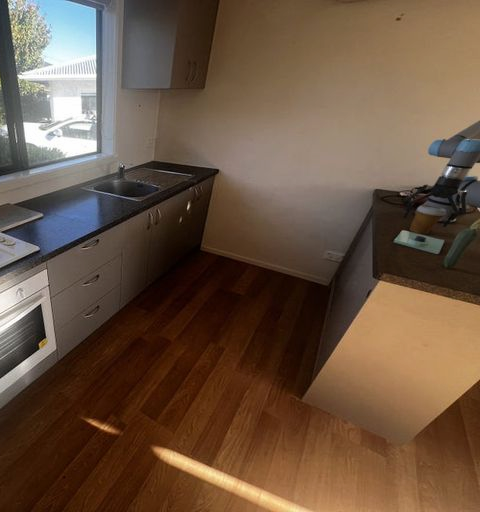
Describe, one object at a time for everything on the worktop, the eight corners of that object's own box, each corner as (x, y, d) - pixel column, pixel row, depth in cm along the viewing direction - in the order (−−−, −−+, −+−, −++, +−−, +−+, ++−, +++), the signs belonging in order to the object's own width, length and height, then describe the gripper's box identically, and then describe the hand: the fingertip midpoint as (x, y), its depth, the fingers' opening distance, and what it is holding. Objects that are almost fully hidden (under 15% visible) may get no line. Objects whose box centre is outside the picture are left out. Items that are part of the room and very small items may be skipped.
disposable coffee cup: (437, 236, 135) (453, 212, 129) (414, 234, 136) (429, 210, 130) (422, 228, 143) (436, 205, 137) (399, 226, 144) (413, 203, 139)
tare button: (414, 238, 126) (417, 235, 125) (424, 241, 124) (426, 237, 123) (413, 240, 124) (416, 237, 123) (423, 243, 122) (425, 239, 121)
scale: (401, 232, 139) (404, 226, 137) (442, 242, 129) (447, 236, 128) (393, 242, 128) (396, 236, 127) (437, 254, 119) (442, 248, 118)
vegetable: (449, 271, 108) (486, 221, 98) (434, 265, 111) (468, 217, 101) (455, 269, 109) (491, 220, 99) (439, 263, 113) (473, 215, 103)
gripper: (412, 172, 133) (388, 215, 143) (496, 184, 116) (461, 232, 127) (415, 170, 137) (391, 212, 147) (496, 182, 120) (463, 228, 131)
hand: (423, 221), depth 137 cm, fingers open, 13 cm apart
